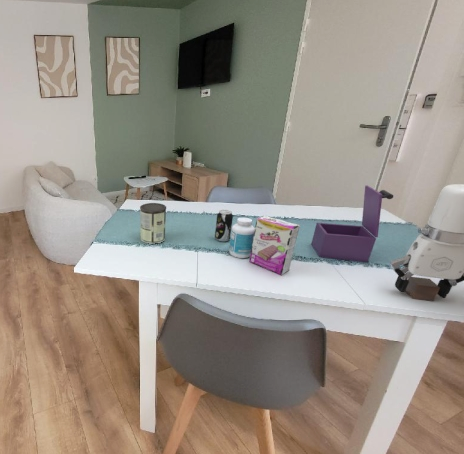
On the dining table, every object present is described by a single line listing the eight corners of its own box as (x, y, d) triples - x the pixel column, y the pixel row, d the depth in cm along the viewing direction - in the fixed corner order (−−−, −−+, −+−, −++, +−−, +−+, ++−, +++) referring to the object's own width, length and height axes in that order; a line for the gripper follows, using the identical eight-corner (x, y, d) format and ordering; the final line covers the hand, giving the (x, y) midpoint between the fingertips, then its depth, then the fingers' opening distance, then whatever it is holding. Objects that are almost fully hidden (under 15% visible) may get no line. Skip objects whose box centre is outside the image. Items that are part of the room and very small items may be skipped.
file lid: (380, 194, 88) (399, 192, 86) (365, 185, 97) (382, 183, 95) (375, 237, 93) (393, 236, 91) (361, 225, 102) (377, 224, 100)
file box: (319, 257, 101) (325, 234, 97) (311, 244, 110) (316, 222, 106) (367, 262, 96) (376, 238, 93) (355, 248, 105) (362, 225, 102)
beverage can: (229, 243, 113) (233, 214, 109) (213, 241, 116) (216, 213, 111) (230, 237, 118) (233, 209, 113) (215, 235, 121) (218, 208, 116)
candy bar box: (248, 262, 100) (255, 218, 93) (256, 257, 102) (264, 214, 96) (281, 276, 91) (292, 228, 85) (289, 271, 94) (300, 224, 87)
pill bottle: (255, 255, 104) (261, 220, 99) (242, 261, 101) (248, 225, 95) (236, 247, 110) (241, 214, 105) (224, 253, 107) (228, 219, 101)
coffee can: (148, 231, 127) (149, 201, 122) (169, 237, 121) (171, 205, 115) (135, 240, 120) (134, 208, 115) (156, 246, 114) (157, 213, 108)
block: (423, 292, 81) (429, 278, 79) (433, 301, 77) (440, 287, 75) (403, 289, 82) (409, 276, 81) (412, 298, 79) (418, 285, 77)
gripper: (409, 236, 72) (385, 294, 79) (507, 244, 66) (472, 306, 73) (393, 225, 79) (373, 280, 86) (482, 231, 73) (452, 290, 80)
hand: (419, 292), depth 79 cm, fingers open, 7 cm apart
